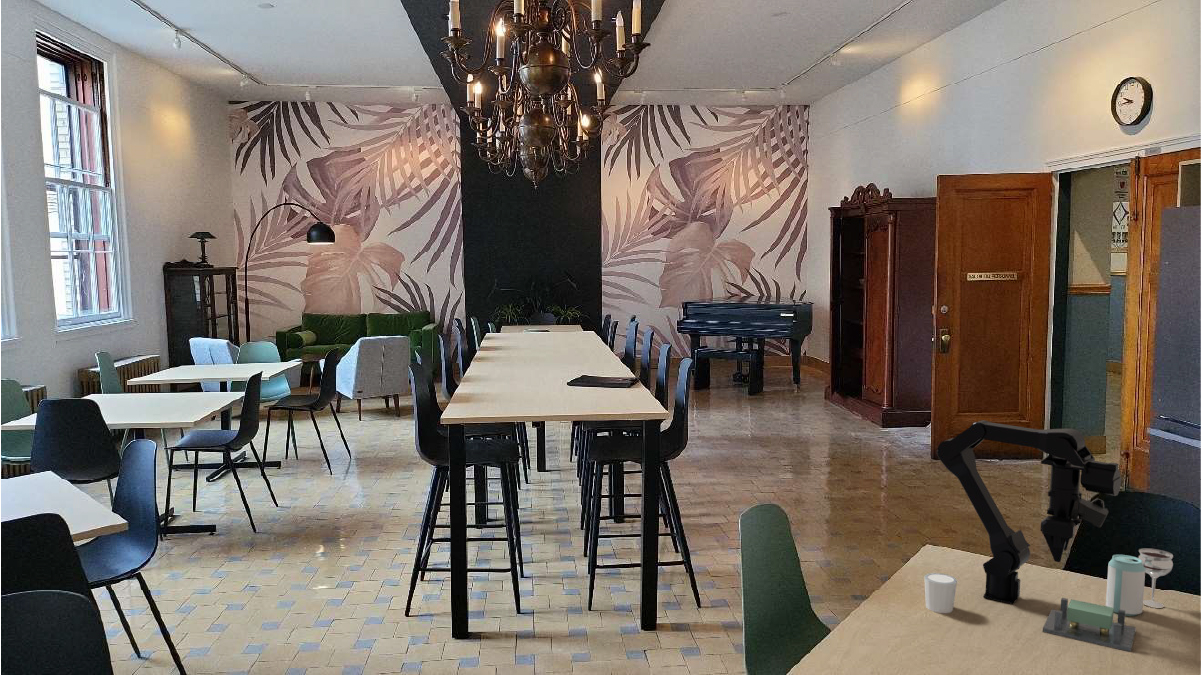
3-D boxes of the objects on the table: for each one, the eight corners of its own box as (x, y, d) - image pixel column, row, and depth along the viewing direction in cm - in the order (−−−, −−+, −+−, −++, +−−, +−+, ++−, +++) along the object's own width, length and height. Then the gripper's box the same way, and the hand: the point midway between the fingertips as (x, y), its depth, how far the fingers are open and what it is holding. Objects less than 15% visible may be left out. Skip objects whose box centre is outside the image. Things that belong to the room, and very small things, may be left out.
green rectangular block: (1066, 620, 185) (1067, 607, 185) (1070, 611, 190) (1071, 599, 189) (1110, 629, 180) (1111, 616, 180) (1112, 620, 185) (1113, 607, 185)
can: (1115, 602, 201) (1119, 551, 200) (1148, 612, 195) (1152, 560, 194) (1099, 608, 197) (1102, 556, 196) (1132, 619, 191) (1135, 566, 190)
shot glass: (922, 611, 195) (923, 581, 194) (923, 600, 201) (924, 570, 201) (955, 616, 193) (957, 585, 192) (955, 604, 199) (957, 575, 198)
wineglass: (1170, 612, 195) (1174, 560, 194) (1135, 606, 199) (1138, 554, 198) (1169, 602, 201) (1173, 551, 200) (1134, 596, 204) (1138, 546, 203)
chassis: (1042, 631, 185) (1043, 611, 184) (1051, 612, 195) (1052, 593, 194) (1130, 651, 176) (1132, 630, 175) (1135, 631, 186) (1136, 611, 185)
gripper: (1102, 502, 180) (1097, 576, 181) (1111, 483, 195) (1106, 551, 197) (1042, 493, 186) (1038, 565, 188) (1055, 476, 202) (1051, 542, 203)
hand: (1060, 555), depth 194 cm, fingers open, 9 cm apart
